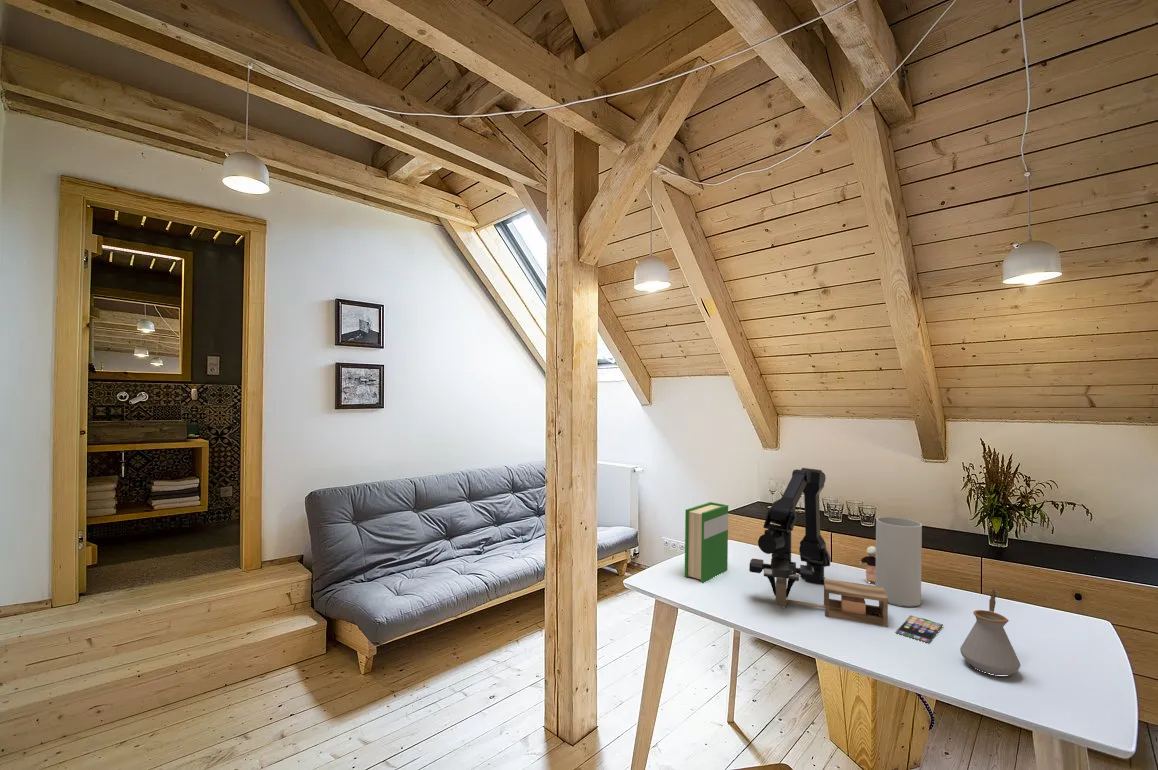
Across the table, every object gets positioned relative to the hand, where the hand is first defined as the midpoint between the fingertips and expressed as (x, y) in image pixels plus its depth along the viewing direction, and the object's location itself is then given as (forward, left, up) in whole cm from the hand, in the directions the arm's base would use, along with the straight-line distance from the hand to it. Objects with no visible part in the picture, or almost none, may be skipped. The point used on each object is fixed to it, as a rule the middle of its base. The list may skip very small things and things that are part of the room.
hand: (781, 596), depth 163 cm
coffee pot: (+15, +49, -2) cm, 52 cm away
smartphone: (+3, +36, -3) cm, 37 cm away
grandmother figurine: (-32, +28, -2) cm, 43 cm away
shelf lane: (0, +20, -2) cm, 20 cm away
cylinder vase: (-19, +34, -2) cm, 39 cm away
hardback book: (-16, -26, -2) cm, 30 cm away
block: (0, +11, -2) cm, 11 cm away
